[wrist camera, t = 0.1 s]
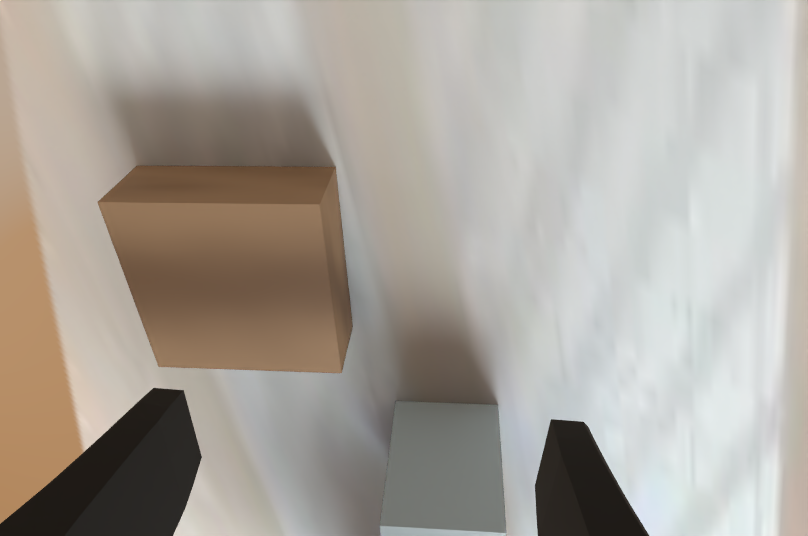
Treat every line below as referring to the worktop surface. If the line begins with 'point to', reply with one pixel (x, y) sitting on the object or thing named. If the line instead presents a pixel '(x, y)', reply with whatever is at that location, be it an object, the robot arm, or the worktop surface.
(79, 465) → the robot arm
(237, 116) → the worktop surface
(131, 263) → the walnut plinth
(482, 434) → the slate block
